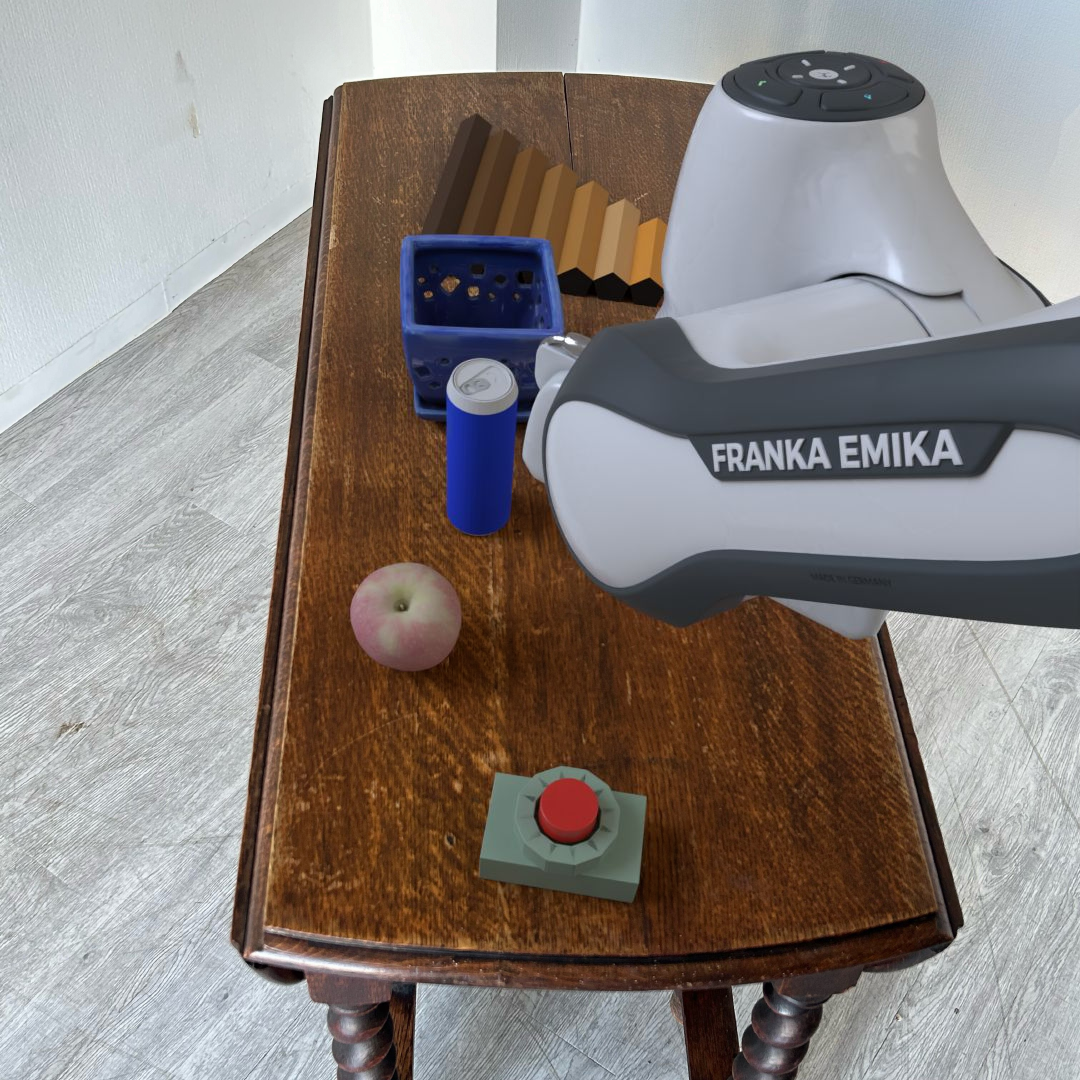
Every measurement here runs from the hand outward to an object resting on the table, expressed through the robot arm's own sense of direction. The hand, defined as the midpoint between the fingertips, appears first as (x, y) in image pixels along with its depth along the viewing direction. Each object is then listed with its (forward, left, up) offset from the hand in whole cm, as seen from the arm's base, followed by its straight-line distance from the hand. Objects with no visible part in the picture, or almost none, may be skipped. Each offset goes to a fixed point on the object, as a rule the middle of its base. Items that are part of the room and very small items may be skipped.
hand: (684, 590), depth 61 cm
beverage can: (+25, +1, -21) cm, 33 cm away
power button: (-3, +7, -16) cm, 18 cm away
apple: (+15, +11, -21) cm, 28 cm away
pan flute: (+60, -23, -21) cm, 68 cm away
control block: (-3, +7, -21) cm, 22 cm away
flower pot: (+39, -5, -21) cm, 45 cm away
